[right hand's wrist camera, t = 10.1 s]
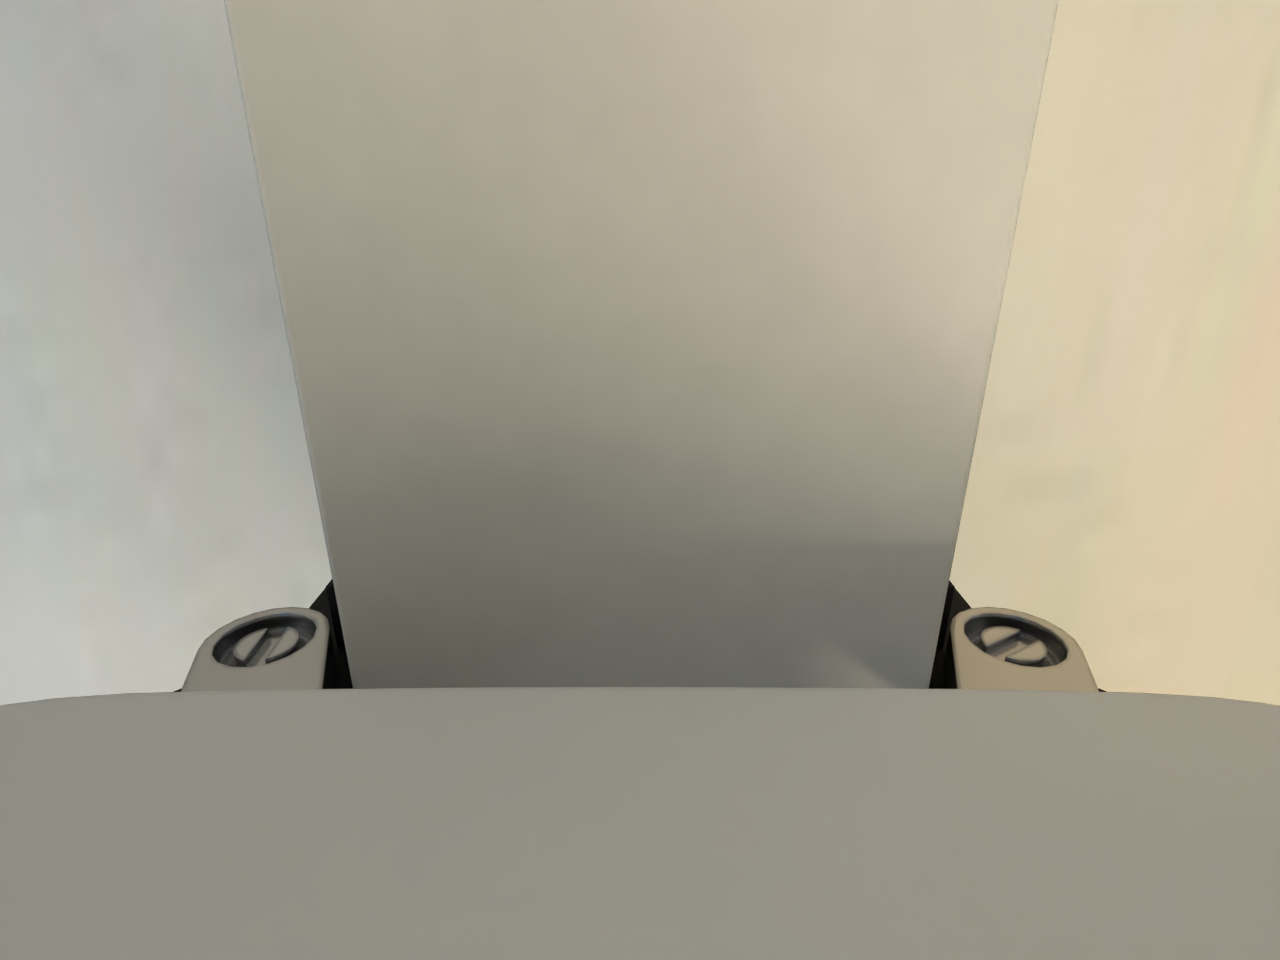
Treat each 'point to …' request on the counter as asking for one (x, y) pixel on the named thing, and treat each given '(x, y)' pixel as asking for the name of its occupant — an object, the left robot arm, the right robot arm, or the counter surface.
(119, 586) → the counter surface
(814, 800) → the right robot arm
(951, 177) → the beam
